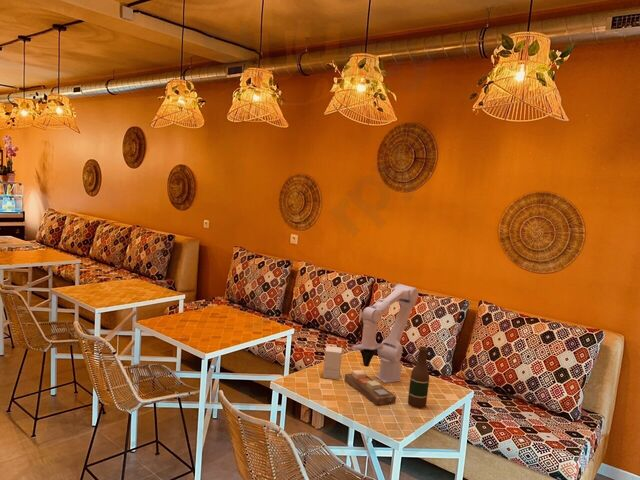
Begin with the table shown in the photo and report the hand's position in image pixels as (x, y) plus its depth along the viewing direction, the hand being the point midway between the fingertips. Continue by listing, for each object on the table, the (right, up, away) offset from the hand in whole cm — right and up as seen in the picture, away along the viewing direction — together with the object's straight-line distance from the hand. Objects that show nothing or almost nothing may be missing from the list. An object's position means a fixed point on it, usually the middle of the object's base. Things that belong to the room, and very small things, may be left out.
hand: (366, 365), depth 209 cm
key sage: (+2, -8, -6) cm, 10 cm away
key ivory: (-3, -6, +4) cm, 8 cm away
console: (+1, -10, -3) cm, 11 cm away
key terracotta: (0, -8, -1) cm, 8 cm away
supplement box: (-15, -7, +10) cm, 19 cm away
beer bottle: (+20, -13, -12) cm, 26 cm away
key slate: (+5, -10, -12) cm, 16 cm away
